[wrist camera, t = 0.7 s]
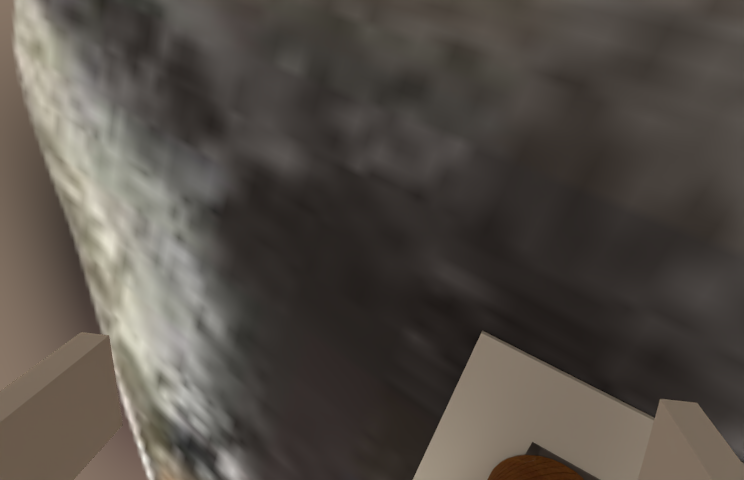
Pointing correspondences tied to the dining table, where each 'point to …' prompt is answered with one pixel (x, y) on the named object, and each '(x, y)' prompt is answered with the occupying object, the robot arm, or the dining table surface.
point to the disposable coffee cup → (532, 469)
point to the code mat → (532, 421)
